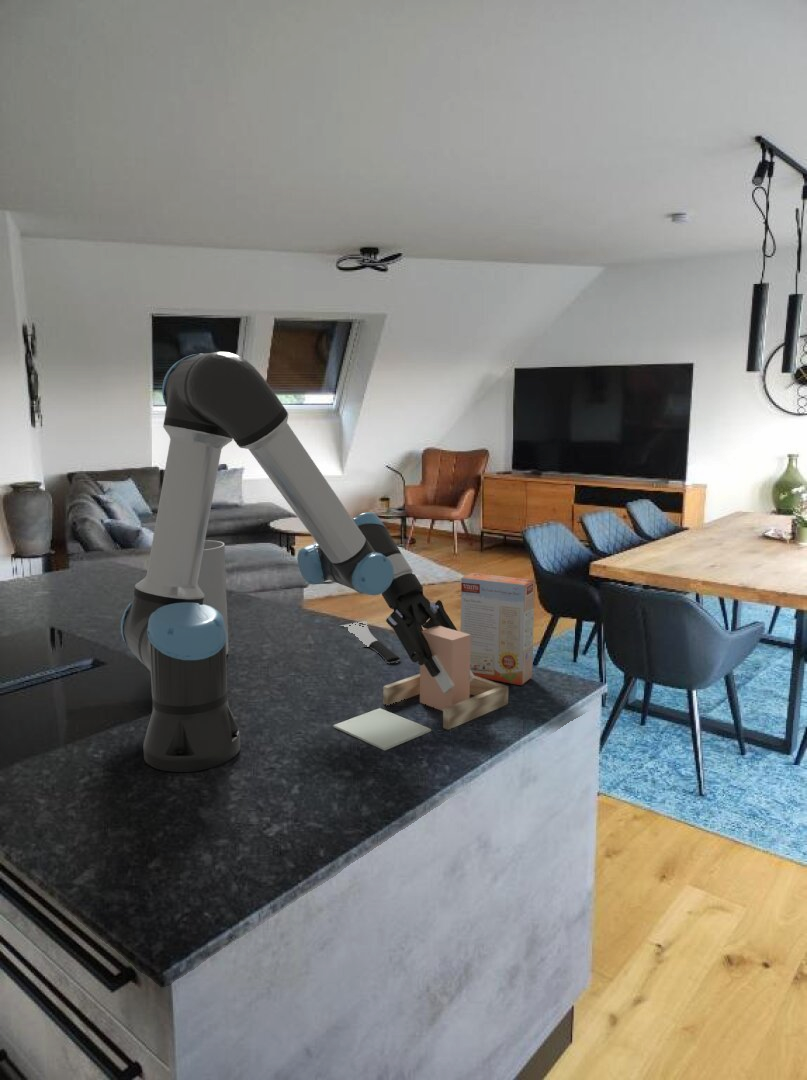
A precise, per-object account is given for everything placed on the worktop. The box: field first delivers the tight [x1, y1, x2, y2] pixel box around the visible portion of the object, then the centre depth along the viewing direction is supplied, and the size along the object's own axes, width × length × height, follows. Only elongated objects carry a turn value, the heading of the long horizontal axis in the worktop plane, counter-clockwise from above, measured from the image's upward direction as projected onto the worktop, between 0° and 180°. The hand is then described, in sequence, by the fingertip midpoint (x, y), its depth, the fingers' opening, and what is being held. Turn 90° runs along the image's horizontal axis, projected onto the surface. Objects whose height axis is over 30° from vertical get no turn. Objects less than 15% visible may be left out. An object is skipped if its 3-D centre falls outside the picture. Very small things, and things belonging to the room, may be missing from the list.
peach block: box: [419, 626, 471, 712], centre depth 147 cm, size 5×8×14 cm, turn 45°
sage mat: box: [333, 707, 432, 752], centre depth 138 cm, size 11×13×1 cm
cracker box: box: [460, 572, 536, 686], centre depth 162 cm, size 14×6×21 cm, turn 59°
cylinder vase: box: [197, 539, 229, 656], centre depth 174 cm, size 12×12×25 cm
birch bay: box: [382, 673, 509, 730], centre depth 149 cm, size 17×16×4 cm
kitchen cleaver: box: [340, 621, 401, 664], centre depth 185 cm, size 31×2×10 cm
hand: (459, 685), depth 145 cm, fingers closed on peach block, 5 cm apart
